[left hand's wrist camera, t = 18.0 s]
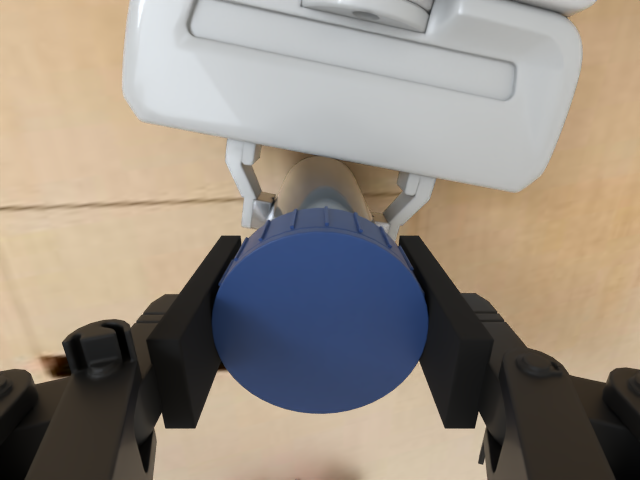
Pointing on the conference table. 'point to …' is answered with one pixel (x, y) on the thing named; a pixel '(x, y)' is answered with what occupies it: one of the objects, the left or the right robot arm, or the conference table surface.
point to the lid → (320, 312)
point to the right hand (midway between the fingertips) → (317, 237)
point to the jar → (320, 188)
